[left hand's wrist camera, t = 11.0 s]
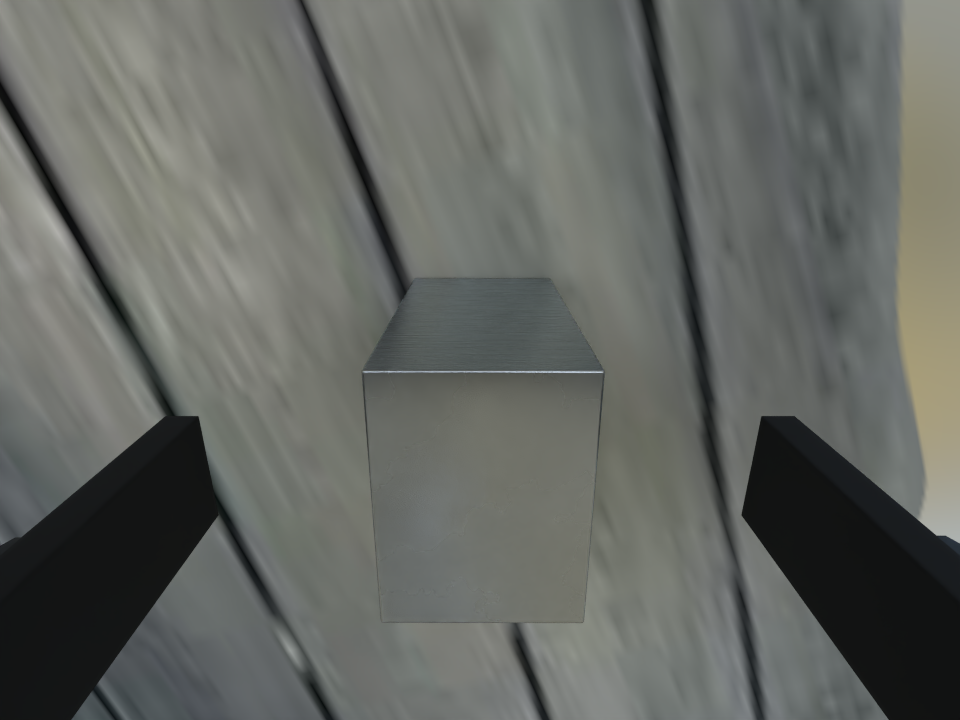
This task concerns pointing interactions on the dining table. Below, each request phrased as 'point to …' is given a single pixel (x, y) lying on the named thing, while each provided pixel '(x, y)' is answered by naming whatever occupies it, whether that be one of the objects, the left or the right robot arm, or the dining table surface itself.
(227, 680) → the dining table surface
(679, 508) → the dining table surface
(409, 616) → the brick
